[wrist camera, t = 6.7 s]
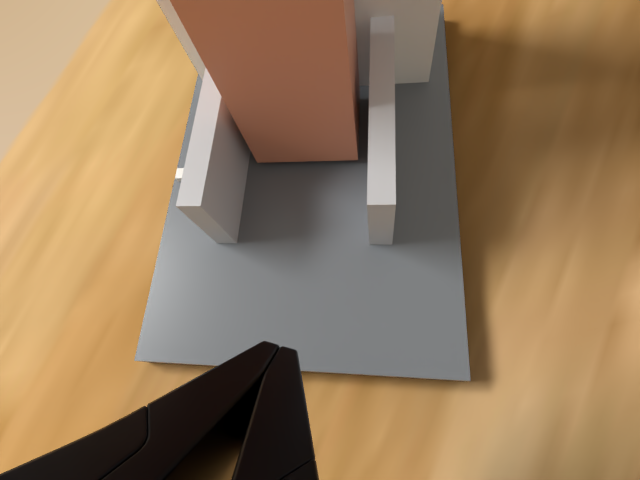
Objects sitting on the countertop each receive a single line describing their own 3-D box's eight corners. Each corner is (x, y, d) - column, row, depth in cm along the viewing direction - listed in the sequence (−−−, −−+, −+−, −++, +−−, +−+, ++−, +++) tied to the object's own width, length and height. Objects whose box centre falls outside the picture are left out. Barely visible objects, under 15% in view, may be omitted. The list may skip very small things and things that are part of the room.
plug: (357, 160, 18) (331, -126, 8) (257, 162, 19) (118, -96, 9) (359, 93, 20) (340, -222, 10) (265, 98, 20) (155, -188, 10)
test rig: (465, 381, 15) (764, 357, 3) (147, 361, 18) (-348, 305, 6) (440, 19, 23) (510, -400, 11) (215, 37, 25) (61, -294, 13)
